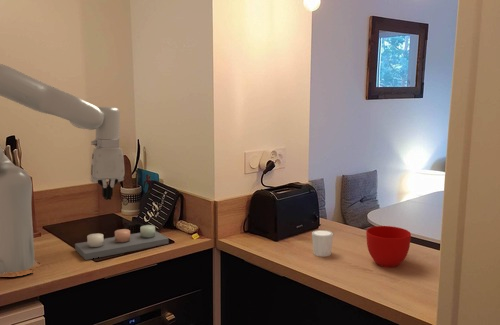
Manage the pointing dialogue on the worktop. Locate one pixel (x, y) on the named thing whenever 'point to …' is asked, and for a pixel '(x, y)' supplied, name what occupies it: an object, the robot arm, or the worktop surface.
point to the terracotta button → (122, 235)
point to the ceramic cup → (388, 244)
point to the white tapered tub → (322, 242)
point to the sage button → (147, 231)
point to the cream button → (95, 240)
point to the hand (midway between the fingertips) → (107, 198)
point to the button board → (120, 245)
